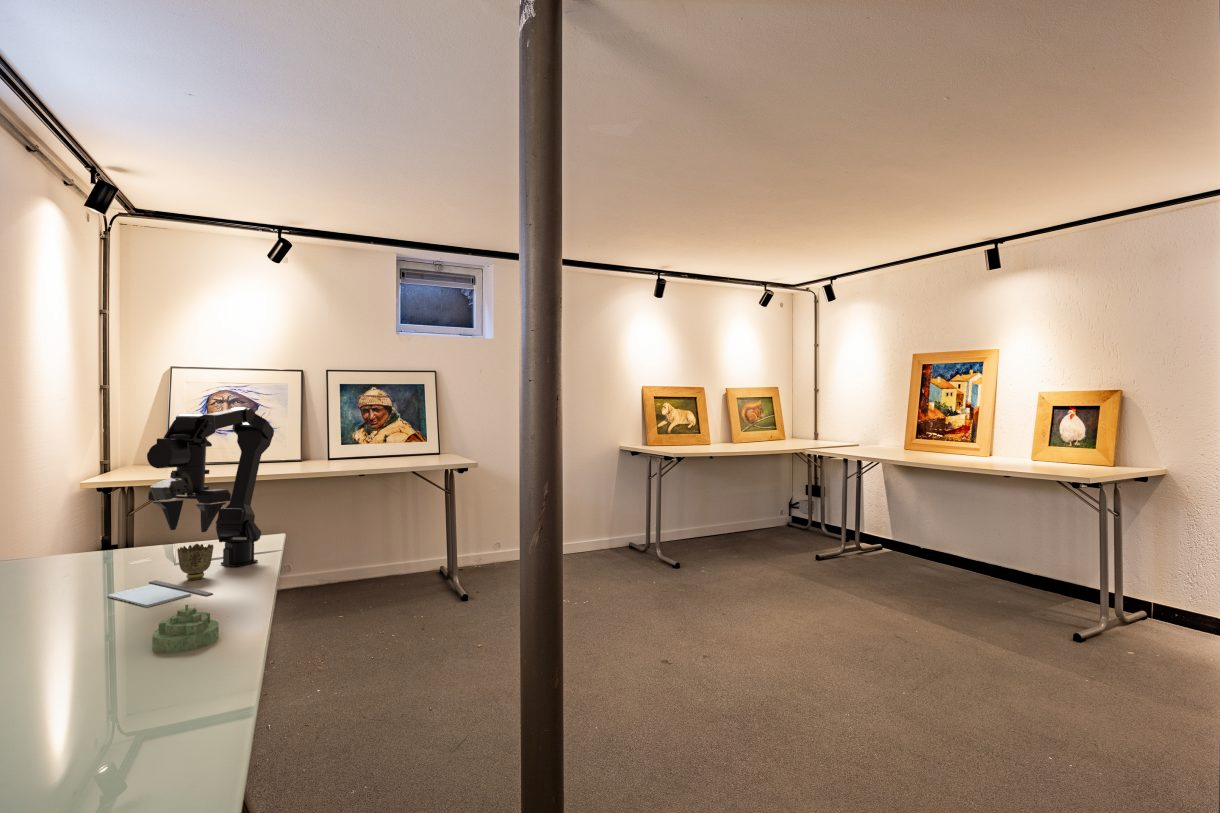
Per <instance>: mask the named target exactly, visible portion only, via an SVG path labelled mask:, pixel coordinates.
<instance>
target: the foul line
mask: <svg viewBox="0 0 1220 813" xmlns="http://www.w3.org/2000/svg"><path fill="white" fill-rule="evenodd" d="M148 583H149V584H151V583H153V584H152V585H155V584H157V586H159V585H162V586H161V587H164V586H166V587H165V588H168V587H169V588H170V589H174V590H179V591H183V592H187V593H191V594H196V595H199V596H204V597H208V596H212V595H214V593H213V592H209V591H206V590H201V589H196V588H192V587H187V586H183V585H179V584H174V583H170V582H165V581H161V580H156V579H155V580H151V581H148Z"/></svg>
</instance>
